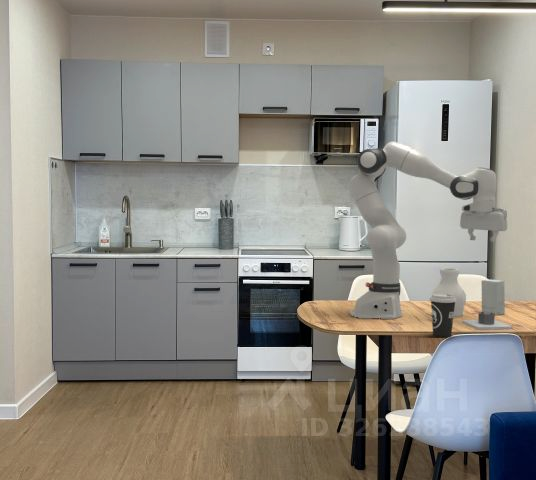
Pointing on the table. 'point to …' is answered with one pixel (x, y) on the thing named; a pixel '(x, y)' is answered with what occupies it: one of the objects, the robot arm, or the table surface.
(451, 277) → the vase
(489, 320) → the ring
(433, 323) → the coffee cup
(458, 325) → the table surface
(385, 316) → the robot arm
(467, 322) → the post
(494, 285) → the skincare box
